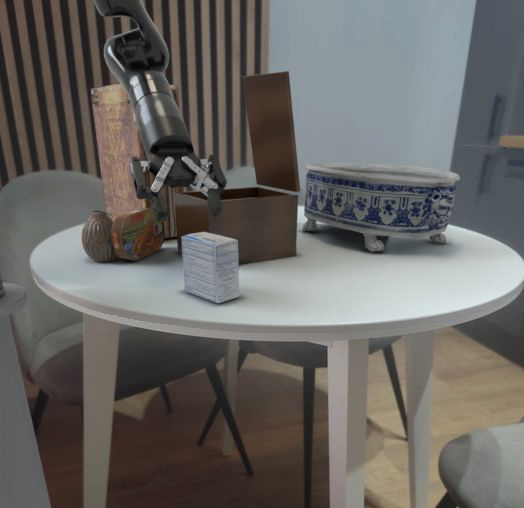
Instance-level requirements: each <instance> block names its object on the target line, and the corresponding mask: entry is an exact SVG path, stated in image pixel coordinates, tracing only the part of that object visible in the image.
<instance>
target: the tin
mask: <svg viewBox="0 0 524 508" xmlns="http://www.w3.org/2000/svg"><path fill="white" fill-rule="evenodd" d="M111 236H112V243H113V247H114V251H115V253H116V254H117V257H118V258H120V259H121V260H124V261H133V262H137V261H140V260H142V259H144V258H146V257H148V256H150V255H152V254H154V253H157V252H158V251H160V250H161V248H162V247H163V244H164V241H165V238H164V236H165V228H164V222H163V221H161V220H160V218H157V217H156V216H155V213H154V210H153V208H143V209H139V210H136V211H133V212H130V213H126V214H123V215H120V216H118V217H117V218H116V219H115V220H114V222H113V225H112V228H111Z"/></svg>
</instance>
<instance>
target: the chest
mask: <svg viewBox="0 0 524 508" xmlns="http://www.w3.org/2000/svg"><path fill="white" fill-rule="evenodd" d="M219 195H220V194H219ZM174 198H175V214H176V230H177V237H176V243H177V253H178V254H181V255H182V236H185V235H188V234H193V233H199V232H207V233H212V234H216V235H220V236H224V237H228V238H232V239H236V240H237V241H238V265H244V264H251V263H256V262H257V263H258V262H262V261H268V260H276V259H282V258H287V257H295V256H297V242H298V241H297V238H298V237H297V236H298V213H299V194H296V193H292V192H287V191H283V190H277V189H273V188H269V187H268V188H267V187H264V186H263V187H262V186H249V187H248V186H246V187H233V188H232V187H231V188H224V192H223V194H221V195H220V198H221V201H222V204H223V208H222V211H221V213H220V215H219V217H213V214H212V211H211V209H210V206H209V203H208V200H207V198H208V197H207V196H206V195H205V194H203V193H202V192H201V191H196V190H188V191H184V192H174Z"/></svg>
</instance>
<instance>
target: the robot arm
mask: <svg viewBox="0 0 524 508" xmlns="http://www.w3.org/2000/svg"><path fill="white" fill-rule="evenodd" d="M93 3H94V5H95V8H96V11H97V12H98V13H99V15H100V16H101V17H103V18H108V19H109V18H110V19H111V18H112V19H113V18H128V19H130V20H132V21H133V22H134V23H135V24H136V25H137V28H134V29H131V30H128V31H126V32H122V33H120V34H116V35H114V36H111V37H110V38H108V39H107V40H106V42H105V44H104V46H103V58H104V60H105V61H104V62H105V64H106V66H107V69H108V70H109V72H110V73H111V75H112V76H113V77H114V78H115V80H116V81H117V82H118V84H120V85H121V86H122V87H123V88H124V90H125V91H126V93H127V95H128V97H129V100H130V103H131V106H132V109H133V112H134V115H135V119H136V125H137V129H138V134H139V136H140V138H141V141H142V144H143V147H144V150H145V153H146V156H147V159H148V161H140V159H139V158H138V157H136V156H134V157H132V160H131V166H130V172H131V177H132V181H133V185H134V189H135V193H136V197H137V198H138V199H143V198H146V199H149V200H150V201H151V203H152V207H153V210H154V213H155V216H156V217H157V218H160V220H161V221H166V220H167V216H168V211H167V208H166V205H165V202H164V199H163V196H162V191H163V189H164V187H165V185H167V186H170V188H175V187H178V186H181V187H184V188H190V187H191V188H192V189H193V190H194V191H201V192H202V193H203V194H205V195H206V196H207V197H208V198H207V200H208V203H209V206H210V209H211V211H212V214H213V217H219V215H220V213H221V211H222V208H223V204H222V201H221V198H220V195H221V194H223V192H224V189H226V186H227V184H228V181H227V179H226V176H225V174H224V171H223V170H222V167H221V165H220V163H219V161H218V158H217V156H216V155H214V154H210V155H208V158H201V159H200V158H199V157H198V156H197V154H196V153H195V149H194V145H193V141H192V140H191V139H192V138H191V136H190V133H189V131H188V129H187V126H186V123H185V120H184V118H183V114H182V112H181V109H180V110H179V108H178V106H177V104H176V102H175V99H174V97H173V94H172V91H171V88H170V86H169V85H170V83H169V81H168V80H167V77H166V76H165V75H164V74H163V72H164V71H165V70H167V68H168V66H169V62H170V52H169V49H168V45H167V43H166V41H165V40H164V38H163V36H162V35H161V33H160V31H159V29H158V28H157V27H156V25H155V23H154V22H153V20H152V18H151V17H150V15H149V13H148V11H147V9H146V7H145V6H144V4H143V1H142V0H93ZM146 170H148V171H149V172H150V173H151V174H152V175H154V176H155V177H156V179H155V181H154V183H153V185H152V187H150V186H146V183H145V179H144V175H145V171H146ZM196 178H197V180H196ZM219 194H220V195H219ZM3 282H4V281H3V278H2V275H1V273H0V298H2V297H3V296H4V295H5V289H4V286H3V284H2V283H3Z"/></svg>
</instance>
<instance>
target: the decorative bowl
mask: <svg viewBox="0 0 524 508" xmlns="http://www.w3.org/2000/svg"><path fill="white" fill-rule="evenodd" d="M304 169H305V170H308V171H307V173H306V176H305V199H304V207H303V208H304V210H303V212H304V214H303V215H304V217H305V218H306V219H307V220H306V222H305V223H304V224H303V225H302V232H312V231H316V230H317V226H318V225H317V222H319V223H322V224H325V225H328V226H332V227H333V228H338V229H343V230H347V231H348V230H349V231H351V232H356V233H360V234H362V235H363V237H364V247H365V249H367V250H368V251H370V252H374V253H375V252H380V251H385V244H384V243H383V240H380V239H378V238H377V236H380V237H397V238H424V237H428V239H429V241H431V242H433V243H438V244H443V245H444V244H446V243H447V237H446V234H444V232H446V231H447V228H448V226H449V223H450V222H449V221H450V218H451V217H452V210H453V208H454V206H455V202H456V199H455V197H456V194H455V192H456V189H457V187H456V182H459V181H460V180H461V177H460V174H458V173H456V172H453V171H451V170H445V169H439V168H433V167H425V166H413V165H412V166H411V165H402V164H401V165H400V164H385V163H360V162H358V163H357V162H355V163H354V162H353V163H351V162H349V163H347V162H346V163H343V162H341V163H340V162H339V163H318V164H317V163H309V164H306V165H305V166H304Z"/></svg>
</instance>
